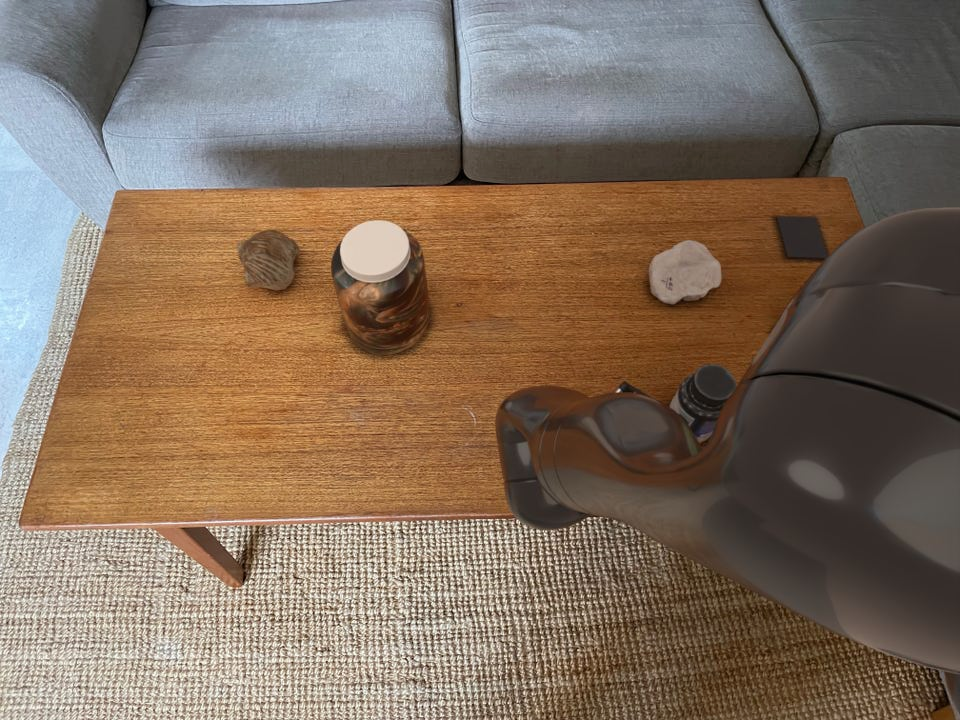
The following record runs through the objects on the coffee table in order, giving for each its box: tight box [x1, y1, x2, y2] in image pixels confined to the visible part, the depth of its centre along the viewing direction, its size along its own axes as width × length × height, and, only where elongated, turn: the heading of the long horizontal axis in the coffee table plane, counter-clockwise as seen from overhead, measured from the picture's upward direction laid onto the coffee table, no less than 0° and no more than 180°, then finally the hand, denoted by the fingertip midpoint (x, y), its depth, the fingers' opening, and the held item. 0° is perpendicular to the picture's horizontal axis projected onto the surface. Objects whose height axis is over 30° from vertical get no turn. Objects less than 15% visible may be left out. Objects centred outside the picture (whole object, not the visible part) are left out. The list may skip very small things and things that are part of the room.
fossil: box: [648, 239, 723, 305], centre depth 91 cm, size 9×6×10 cm
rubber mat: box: [775, 215, 829, 260], centre depth 98 cm, size 8×6×1 cm
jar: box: [330, 219, 431, 356], centre depth 83 cm, size 12×12×15 cm
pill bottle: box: [668, 363, 737, 445], centre depth 77 cm, size 6×6×11 cm
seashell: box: [236, 229, 301, 291], centre depth 90 cm, size 9×7×8 cm
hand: (679, 424), depth 77 cm, fingers closed
